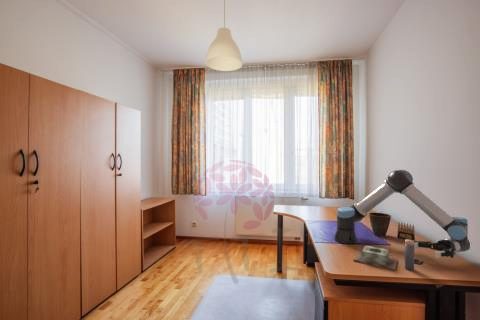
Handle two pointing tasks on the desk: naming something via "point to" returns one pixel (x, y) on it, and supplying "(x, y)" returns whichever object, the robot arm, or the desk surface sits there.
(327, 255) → the desk surface
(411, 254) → the peg
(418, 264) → the blender logo cutout
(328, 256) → the desk surface
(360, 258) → the socket
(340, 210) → the robot arm
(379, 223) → the plant pot
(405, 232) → the ammunition clip
